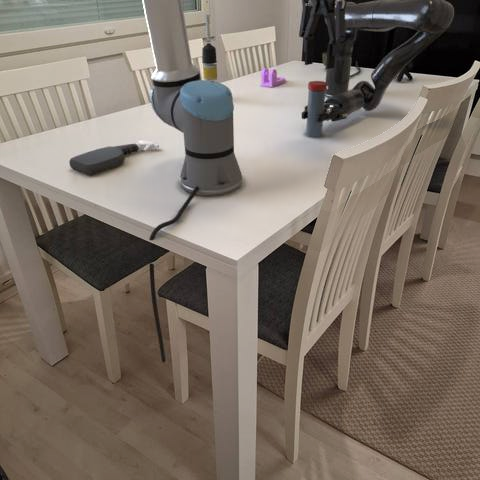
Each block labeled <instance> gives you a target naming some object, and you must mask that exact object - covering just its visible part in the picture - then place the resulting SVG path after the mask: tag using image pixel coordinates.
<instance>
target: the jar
mask: <svg viewBox="0 0 480 480" xmlns="http://www.w3.org/2000/svg"><path fill="white" fill-rule="evenodd" d="M325 91H326V90H324V91H312V90H309V89H308V96H307V105H308V110H307V118H306V128H305V129H306V130H305V136H306V137H308V138H320V137H322V136H323V127H324V126H323V125H324V121H323V122H320V123H318V122H317V116H318V115H320V114H322V113H324V103H325V101H326V96H325Z"/></svg>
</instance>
